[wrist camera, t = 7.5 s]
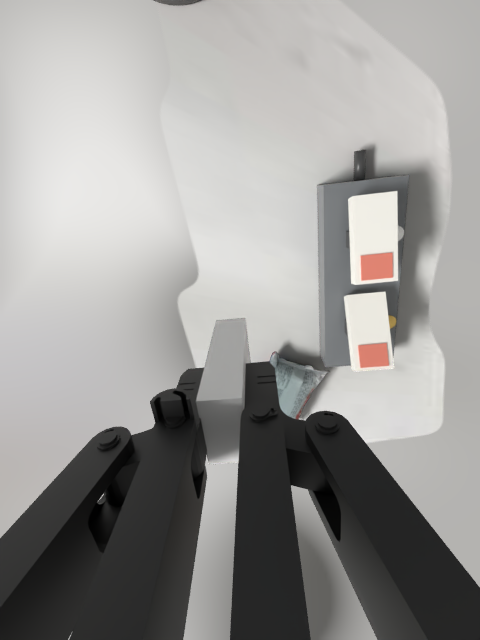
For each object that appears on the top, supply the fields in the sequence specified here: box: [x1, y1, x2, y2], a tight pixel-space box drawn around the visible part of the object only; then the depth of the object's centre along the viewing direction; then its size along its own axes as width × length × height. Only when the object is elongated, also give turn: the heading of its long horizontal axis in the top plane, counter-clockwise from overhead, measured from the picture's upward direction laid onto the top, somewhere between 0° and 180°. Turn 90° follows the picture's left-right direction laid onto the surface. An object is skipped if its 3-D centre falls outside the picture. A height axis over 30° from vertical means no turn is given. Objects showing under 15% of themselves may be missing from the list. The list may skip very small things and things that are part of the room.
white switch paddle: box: [344, 292, 394, 372], centre depth 38 cm, size 9×4×2 cm, turn 7°
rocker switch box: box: [317, 150, 409, 367], centre depth 39 cm, size 26×9×5 cm, turn 6°
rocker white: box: [348, 191, 398, 285], centre depth 33 cm, size 9×4×2 cm, turn 7°
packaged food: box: [269, 351, 330, 419], centre depth 47 cm, size 9×12×5 cm
